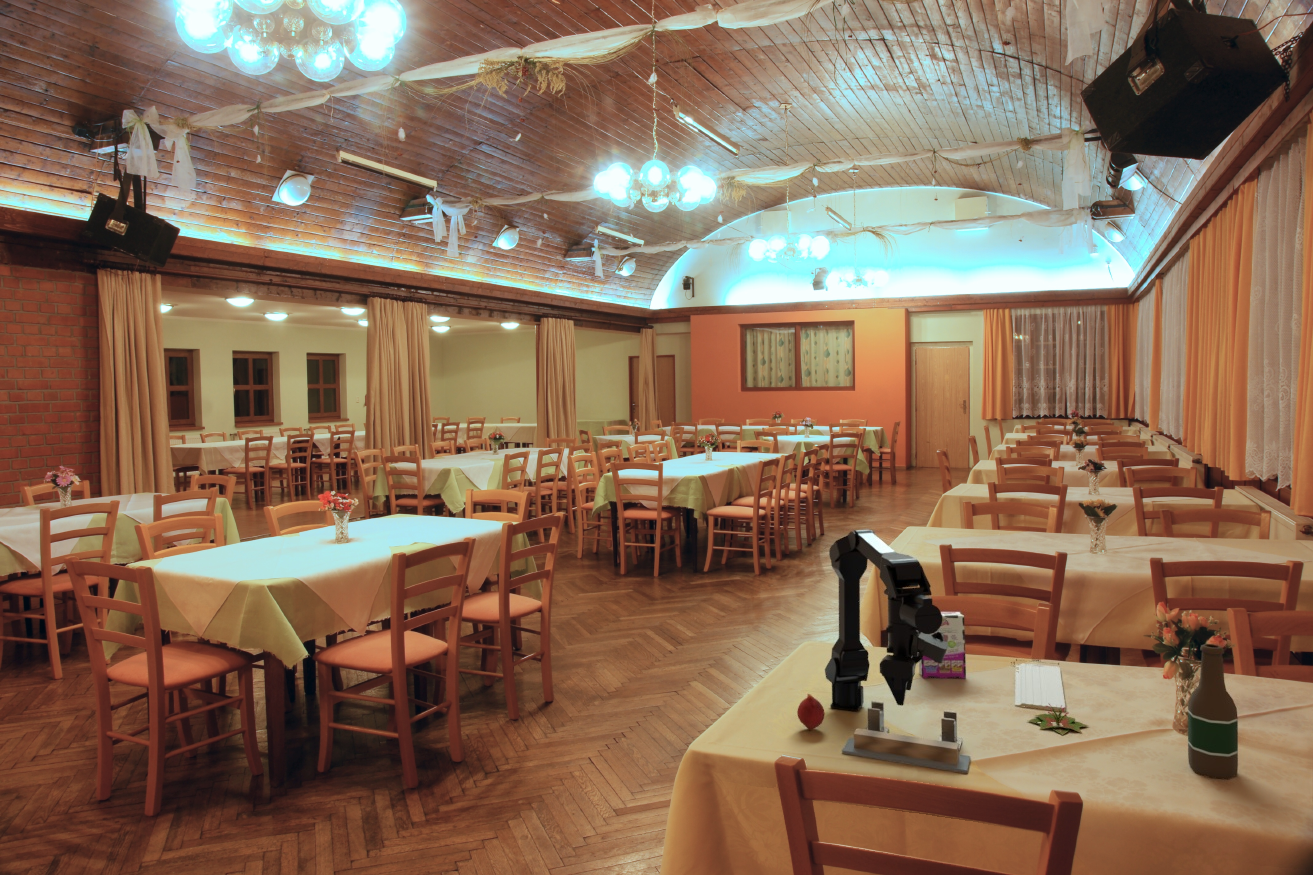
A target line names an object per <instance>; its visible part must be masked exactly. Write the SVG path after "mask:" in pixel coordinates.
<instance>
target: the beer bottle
mask: <svg viewBox="0 0 1313 875" xmlns="http://www.w3.org/2000/svg"><path fill="white" fill-rule="evenodd" d="M1199 650H1200V651H1201V659H1200V660H1201V661H1200V675H1199V676H1200V677H1199V682H1198V685H1197V687H1196V688H1195V689H1193V691H1192V692H1191V694H1190V696H1189V699H1188V705H1187V756H1188V765H1189V767H1190V768H1191V769H1192V770H1193V772H1194V773H1196V774H1198V775H1201V776H1204V777H1207V778H1208V779H1209V778H1210V779H1218V780H1225V781H1226V780H1230V779H1232V778H1235V777H1237V776H1238V770H1239V746H1238V745H1239V744H1238V743H1239V740H1238V739H1239V734H1238V733H1239V725H1238V723H1239V721H1238V718H1239V717H1238V709H1237V707H1236V704H1235V701H1234V699H1233V697H1232V696H1231V695H1230V694H1229V692H1228V691H1227V687H1226V683H1225V673H1224V672H1225V671H1224V659H1223V655H1224V654H1225V650H1224V648H1223V647H1222V646H1221V645H1218V644H1214V643H1205V644H1201V645H1200V649H1199Z"/></svg>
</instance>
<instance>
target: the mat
mask: <svg viewBox="0 0 1313 875" xmlns="http://www.w3.org/2000/svg"><path fill="white" fill-rule="evenodd" d="M841 753H842V754H844V755H851V756H857V757H863V758H868V759H876V760H882V761H888V762H893V763H900V764H906V765H913V766H918V767H925V768H932V769H938V770H944V771H949V772H955V773H962V774H968V772H969V766H970V761H971V755H969V754H968V755H967V754H961V753H959V759H958V763H957V764H952V763H945V762H939V761H933V760H926V759H920V758H914V757H908V756H901V755H895V754H889V753H882V752H876V751H870V750H863V749H857V748H854V737H849V738H848V739H847V741H846V743H845V745H844V746H843V748H842V749H841Z"/></svg>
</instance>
